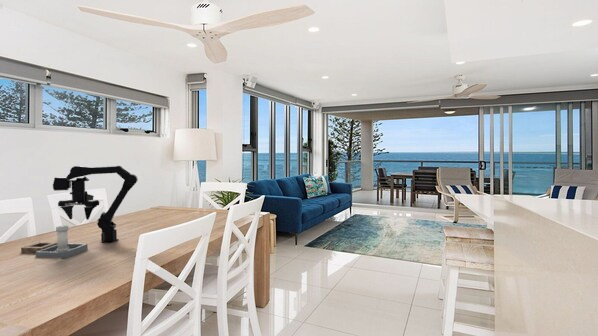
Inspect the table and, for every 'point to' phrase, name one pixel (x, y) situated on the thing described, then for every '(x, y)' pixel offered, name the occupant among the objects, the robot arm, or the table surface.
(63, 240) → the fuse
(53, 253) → the parts tray
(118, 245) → the table surface
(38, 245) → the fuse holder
